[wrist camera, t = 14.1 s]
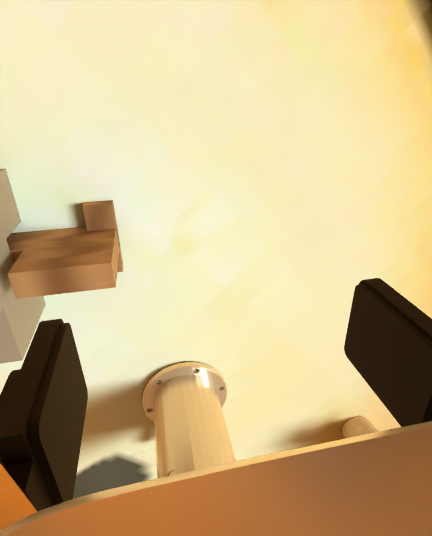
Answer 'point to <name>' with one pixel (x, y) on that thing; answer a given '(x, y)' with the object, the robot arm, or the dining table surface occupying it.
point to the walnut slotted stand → (67, 256)
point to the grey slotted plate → (3, 299)
